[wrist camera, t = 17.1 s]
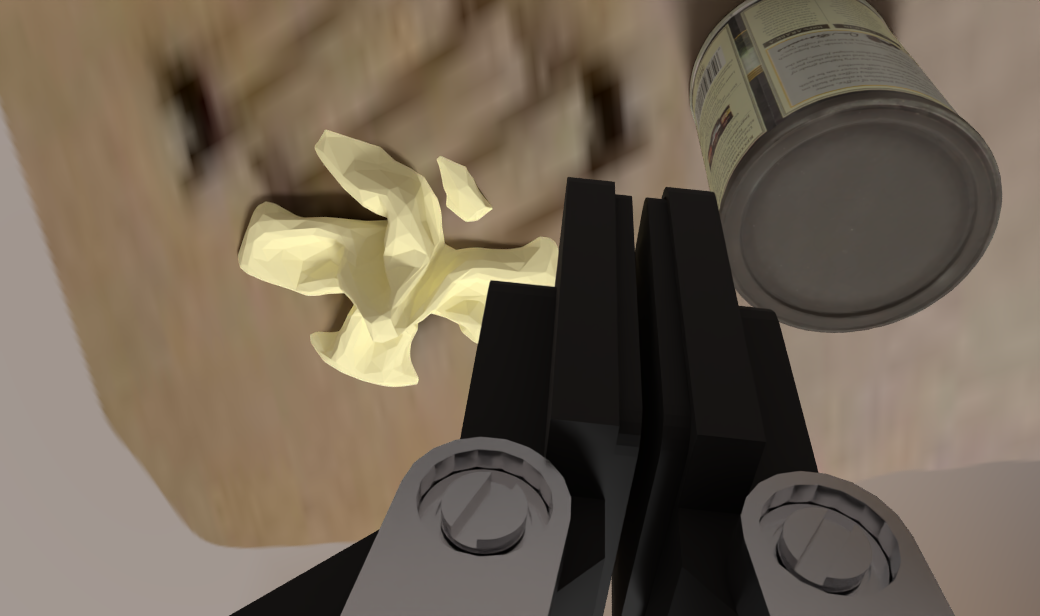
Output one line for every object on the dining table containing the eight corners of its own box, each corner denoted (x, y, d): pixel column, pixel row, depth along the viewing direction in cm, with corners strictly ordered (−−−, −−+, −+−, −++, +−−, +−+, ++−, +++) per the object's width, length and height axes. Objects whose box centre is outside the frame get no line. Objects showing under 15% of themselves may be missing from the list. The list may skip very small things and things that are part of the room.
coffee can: (896, 156, 46) (992, 316, 35) (700, 188, 48) (729, 349, 37) (901, -42, 40) (1017, 73, 29) (677, 3, 42) (705, 128, 31)
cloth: (616, 319, 55) (618, 384, 50) (383, 420, 62) (364, 486, 57) (406, 12, 44) (382, 56, 39) (153, 174, 51) (105, 230, 46)
